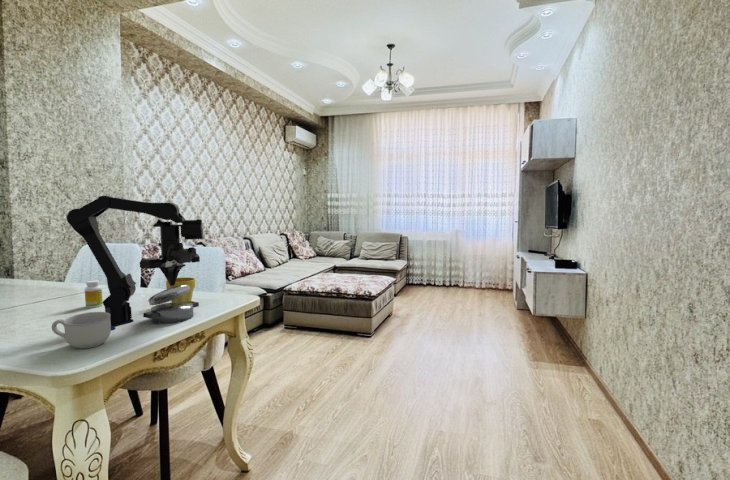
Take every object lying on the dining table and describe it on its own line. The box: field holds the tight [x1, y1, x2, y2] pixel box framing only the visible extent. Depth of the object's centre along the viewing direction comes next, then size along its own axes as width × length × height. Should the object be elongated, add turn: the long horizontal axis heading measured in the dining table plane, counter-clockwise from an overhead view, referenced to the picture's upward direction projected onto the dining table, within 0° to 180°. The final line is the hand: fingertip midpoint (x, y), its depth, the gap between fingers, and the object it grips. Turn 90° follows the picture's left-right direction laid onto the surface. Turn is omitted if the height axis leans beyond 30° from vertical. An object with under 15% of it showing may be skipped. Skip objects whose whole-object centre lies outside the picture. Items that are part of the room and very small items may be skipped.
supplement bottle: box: [84, 279, 104, 309], centre depth 151 cm, size 5×5×10 cm
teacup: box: [51, 311, 112, 350], centre depth 109 cm, size 14×11×8 cm
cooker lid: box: [147, 285, 190, 306], centre depth 135 cm, size 13×13×3 cm
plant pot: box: [165, 276, 196, 302], centre depth 154 cm, size 10×10×10 cm
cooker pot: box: [142, 300, 200, 325], centre depth 135 cm, size 18×13×4 cm
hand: (172, 285), depth 134 cm, fingers closed
